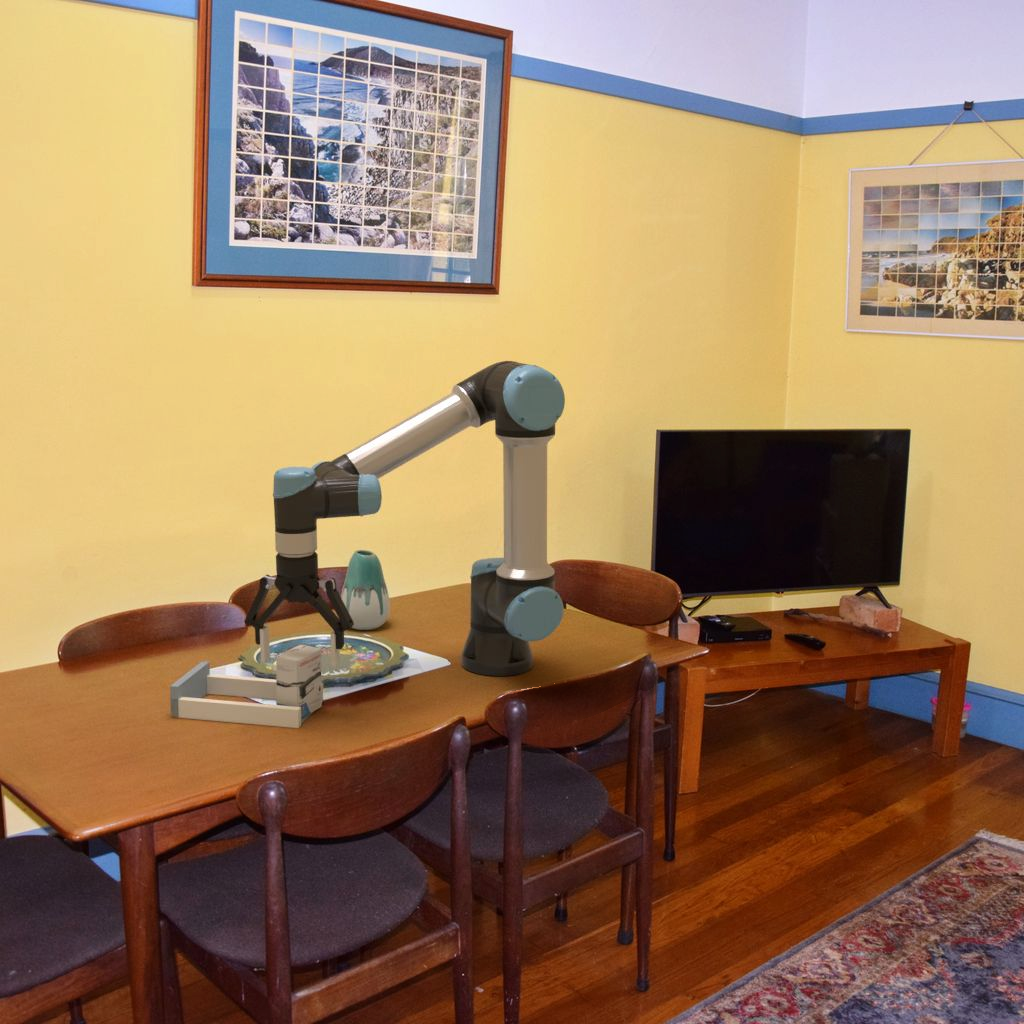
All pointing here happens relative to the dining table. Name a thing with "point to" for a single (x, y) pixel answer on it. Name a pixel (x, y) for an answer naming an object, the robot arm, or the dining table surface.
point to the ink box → (300, 678)
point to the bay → (202, 682)
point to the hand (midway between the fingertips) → (300, 663)
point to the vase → (365, 591)
